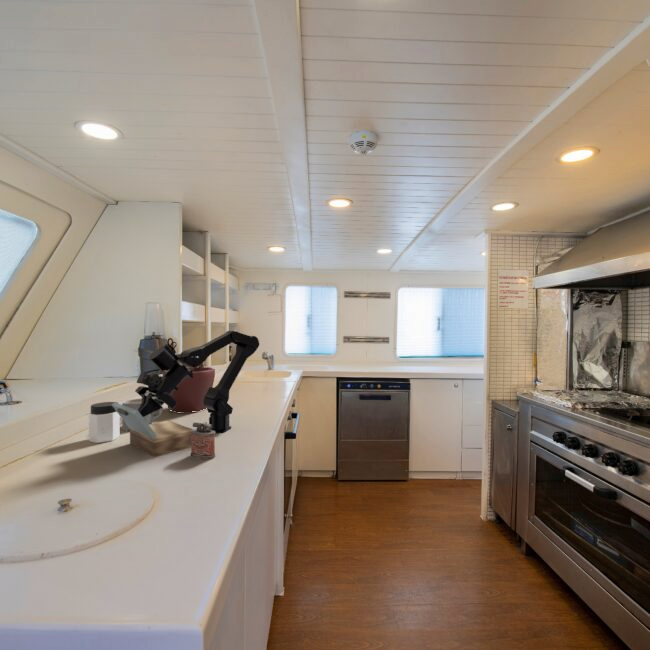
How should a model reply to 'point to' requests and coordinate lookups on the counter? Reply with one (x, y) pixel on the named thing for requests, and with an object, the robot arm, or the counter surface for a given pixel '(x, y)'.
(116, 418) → the jar
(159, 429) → the cart bed
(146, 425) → the grey flat slab
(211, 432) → the lighter
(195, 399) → the bucket
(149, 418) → the grey mug
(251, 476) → the counter surface
